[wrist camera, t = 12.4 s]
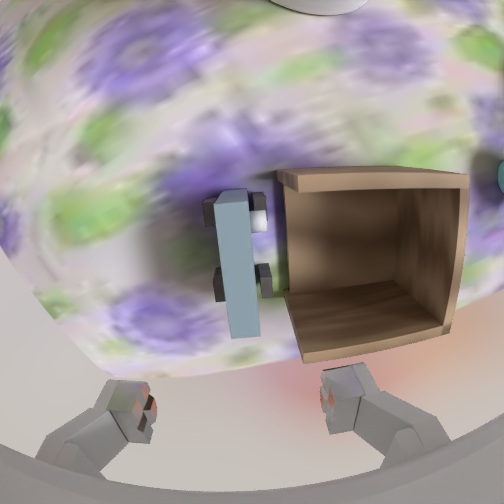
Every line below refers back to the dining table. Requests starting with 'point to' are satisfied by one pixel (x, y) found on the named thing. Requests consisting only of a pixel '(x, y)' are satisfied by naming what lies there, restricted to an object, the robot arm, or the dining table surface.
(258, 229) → the door
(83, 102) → the dining table surface
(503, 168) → the cupcake
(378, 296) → the cabinet
